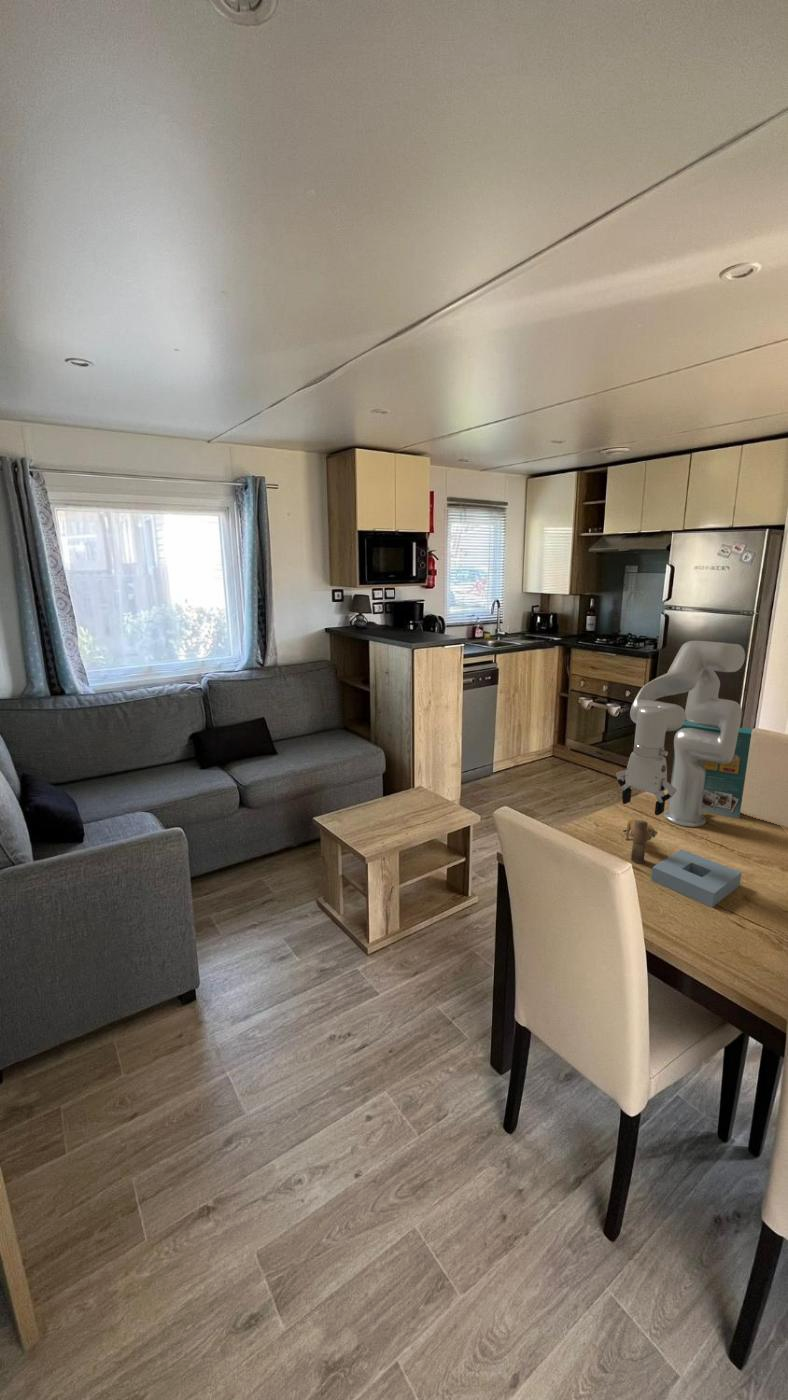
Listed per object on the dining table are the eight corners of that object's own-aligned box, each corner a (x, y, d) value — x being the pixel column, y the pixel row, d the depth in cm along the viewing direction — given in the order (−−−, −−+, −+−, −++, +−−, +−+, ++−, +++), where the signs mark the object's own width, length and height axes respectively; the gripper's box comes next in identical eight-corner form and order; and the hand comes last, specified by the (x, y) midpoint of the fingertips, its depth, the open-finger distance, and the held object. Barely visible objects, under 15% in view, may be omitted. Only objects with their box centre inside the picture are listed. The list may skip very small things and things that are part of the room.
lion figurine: (657, 854, 168) (660, 826, 166) (641, 855, 167) (643, 828, 165) (630, 831, 182) (632, 806, 180) (614, 833, 181) (617, 807, 179)
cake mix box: (740, 812, 195) (752, 729, 188) (739, 818, 190) (751, 733, 183) (670, 798, 207) (679, 720, 200) (668, 804, 202) (677, 724, 195)
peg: (635, 856, 167) (638, 819, 164) (646, 861, 164) (650, 823, 161) (628, 860, 165) (632, 822, 162) (639, 864, 162) (643, 826, 159)
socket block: (680, 861, 163) (681, 849, 162) (739, 885, 151) (741, 872, 150) (651, 880, 154) (652, 867, 153) (712, 907, 142) (714, 893, 141)
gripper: (686, 756, 152) (678, 815, 156) (626, 741, 165) (621, 795, 169) (672, 761, 147) (665, 822, 151) (612, 745, 161) (607, 801, 165)
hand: (642, 808), depth 160 cm, fingers open, 9 cm apart
